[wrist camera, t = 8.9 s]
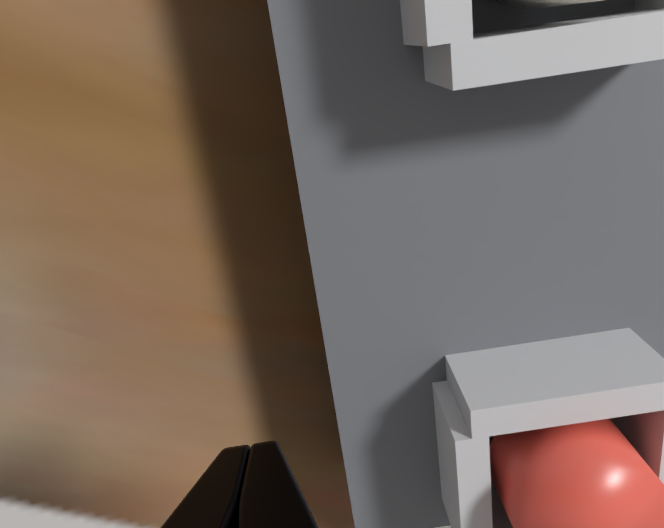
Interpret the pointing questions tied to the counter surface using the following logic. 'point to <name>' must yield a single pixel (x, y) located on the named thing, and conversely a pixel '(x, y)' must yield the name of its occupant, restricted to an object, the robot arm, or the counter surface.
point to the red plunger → (575, 478)
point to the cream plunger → (543, 3)
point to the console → (478, 233)
